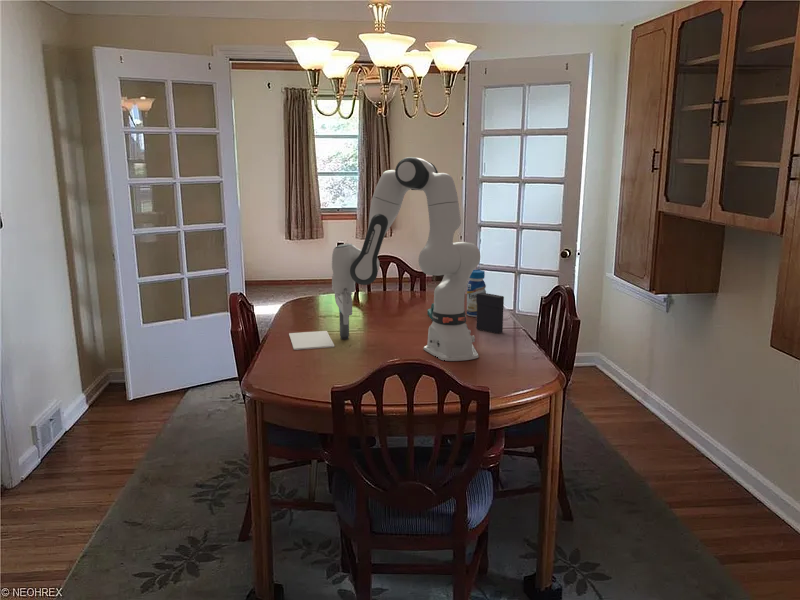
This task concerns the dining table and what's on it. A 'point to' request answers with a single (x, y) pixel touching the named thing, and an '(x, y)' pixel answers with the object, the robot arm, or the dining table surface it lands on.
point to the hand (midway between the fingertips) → (343, 320)
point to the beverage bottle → (474, 291)
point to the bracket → (431, 311)
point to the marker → (343, 328)
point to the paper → (311, 340)
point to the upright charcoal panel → (490, 312)
